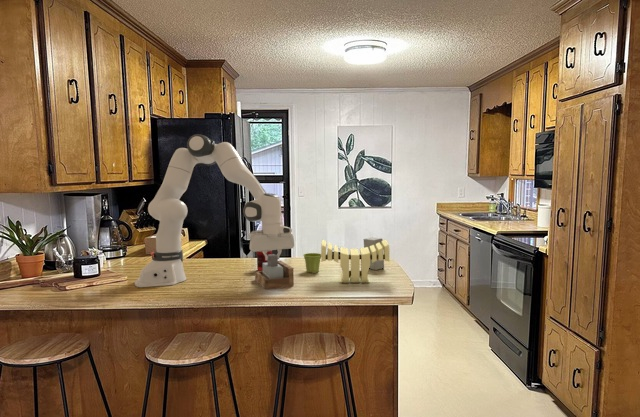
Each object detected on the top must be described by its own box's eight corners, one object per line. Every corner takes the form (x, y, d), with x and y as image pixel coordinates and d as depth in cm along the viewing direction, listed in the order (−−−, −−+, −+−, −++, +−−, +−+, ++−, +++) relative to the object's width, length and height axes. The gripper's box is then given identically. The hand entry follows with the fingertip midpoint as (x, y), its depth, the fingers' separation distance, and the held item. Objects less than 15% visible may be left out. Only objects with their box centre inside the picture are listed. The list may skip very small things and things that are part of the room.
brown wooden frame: (255, 279, 191) (254, 263, 190) (280, 276, 196) (280, 260, 195) (266, 289, 175) (265, 271, 174) (293, 285, 180) (293, 268, 179)
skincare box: (384, 268, 210) (384, 238, 208) (374, 270, 206) (374, 239, 204) (373, 265, 217) (373, 236, 215) (363, 267, 213) (363, 237, 211)
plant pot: (315, 268, 213) (315, 252, 212) (325, 272, 205) (325, 255, 204) (300, 271, 208) (299, 254, 207) (309, 274, 200) (309, 257, 199)
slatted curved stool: (321, 284, 181) (321, 245, 180) (323, 275, 197) (322, 239, 196) (389, 284, 180) (389, 244, 178) (385, 275, 196) (385, 239, 194)
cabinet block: (270, 286, 179) (269, 258, 178) (262, 279, 190) (262, 253, 188) (283, 285, 181) (283, 257, 180) (275, 278, 192) (274, 252, 191)
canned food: (273, 268, 214) (273, 247, 213) (270, 272, 206) (270, 250, 205) (259, 268, 215) (259, 247, 214) (255, 272, 207) (255, 250, 206)
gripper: (250, 231, 176) (251, 263, 177) (295, 228, 185) (295, 258, 186) (247, 230, 182) (248, 260, 183) (290, 227, 190) (291, 256, 191)
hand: (272, 259), depth 185 cm, fingers closed on cabinet block, 3 cm apart
